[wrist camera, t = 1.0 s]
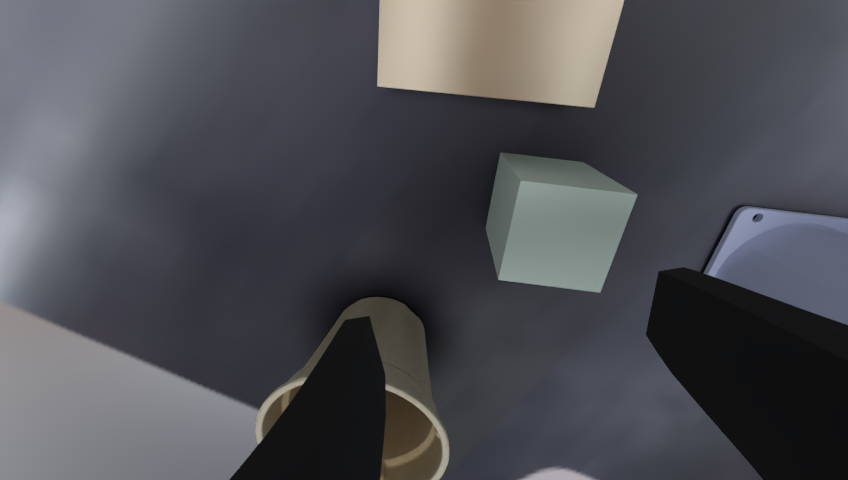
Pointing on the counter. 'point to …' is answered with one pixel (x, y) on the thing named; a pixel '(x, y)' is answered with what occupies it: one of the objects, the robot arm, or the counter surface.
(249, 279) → the counter surface
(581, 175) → the sage block
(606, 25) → the beech base
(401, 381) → the flower pot
